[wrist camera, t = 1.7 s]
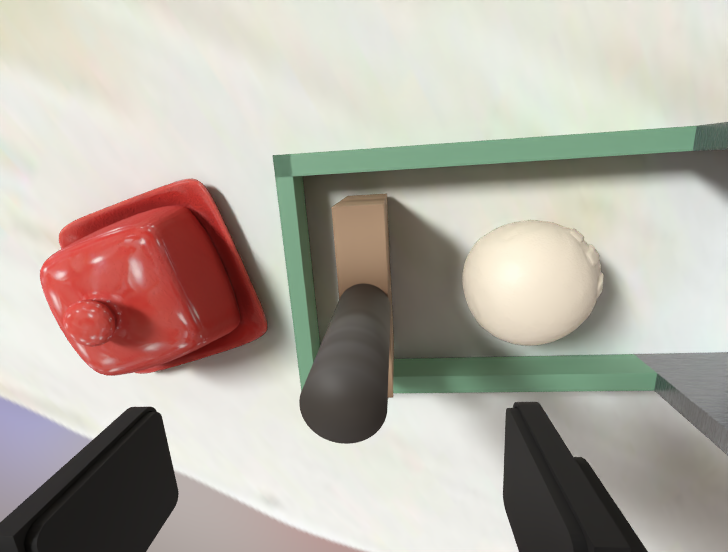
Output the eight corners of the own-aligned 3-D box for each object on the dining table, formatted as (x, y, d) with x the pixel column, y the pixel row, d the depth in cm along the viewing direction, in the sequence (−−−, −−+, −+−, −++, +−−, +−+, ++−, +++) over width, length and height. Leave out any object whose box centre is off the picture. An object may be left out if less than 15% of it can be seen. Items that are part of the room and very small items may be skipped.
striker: (346, 196, 24) (279, 240, 10) (388, 193, 24) (378, 236, 10) (357, 344, 27) (315, 537, 13) (395, 343, 26) (394, 539, 13)
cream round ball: (582, 296, 25) (647, 342, 19) (471, 328, 26) (495, 381, 20) (559, 195, 23) (621, 207, 17) (442, 234, 25) (458, 259, 18)
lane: (284, 156, 24) (272, 155, 22) (665, 129, 22) (696, 125, 20) (309, 375, 28) (301, 394, 26) (631, 370, 26) (654, 390, 24)
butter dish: (210, 169, 25) (120, 173, 17) (279, 328, 28) (231, 397, 19) (64, 227, 27) (-81, 255, 19) (143, 370, 30) (46, 449, 21)
